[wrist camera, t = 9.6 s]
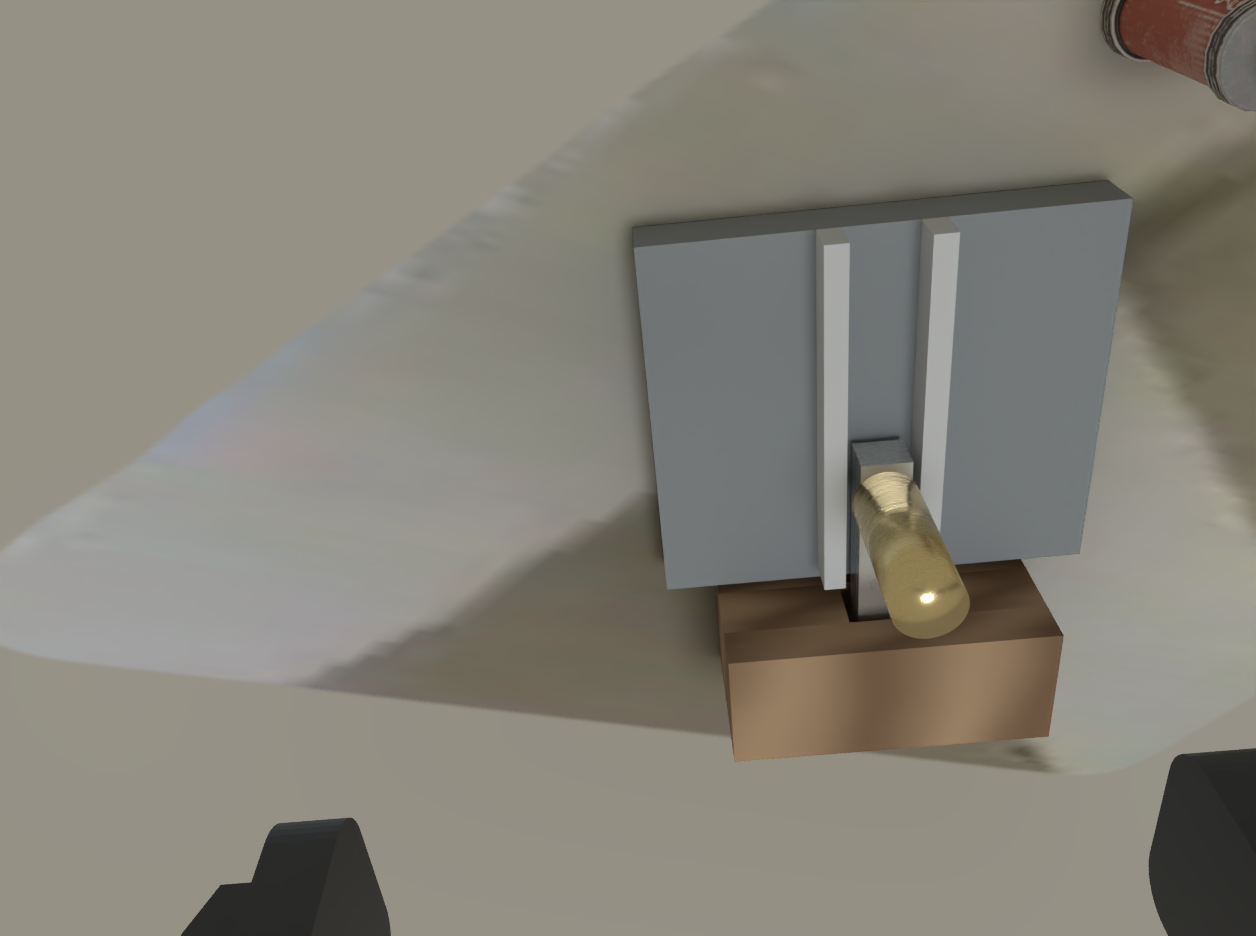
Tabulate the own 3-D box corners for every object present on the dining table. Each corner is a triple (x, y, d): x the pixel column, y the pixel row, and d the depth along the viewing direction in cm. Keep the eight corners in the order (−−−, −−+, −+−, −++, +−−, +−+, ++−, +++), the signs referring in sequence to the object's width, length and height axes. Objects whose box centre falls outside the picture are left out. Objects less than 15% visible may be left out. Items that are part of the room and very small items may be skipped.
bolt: (910, 438, 38) (973, 565, 32) (902, 632, 43) (954, 778, 36) (843, 444, 38) (891, 572, 32) (841, 637, 43) (883, 783, 36)
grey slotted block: (1108, 180, 36) (1153, 212, 33) (1060, 524, 43) (1094, 577, 40) (632, 227, 36) (634, 263, 33) (664, 559, 44) (668, 613, 41)
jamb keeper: (1009, 539, 43) (1063, 635, 38) (999, 634, 46) (1048, 736, 41) (714, 565, 44) (728, 663, 39) (720, 657, 46) (734, 761, 41)
